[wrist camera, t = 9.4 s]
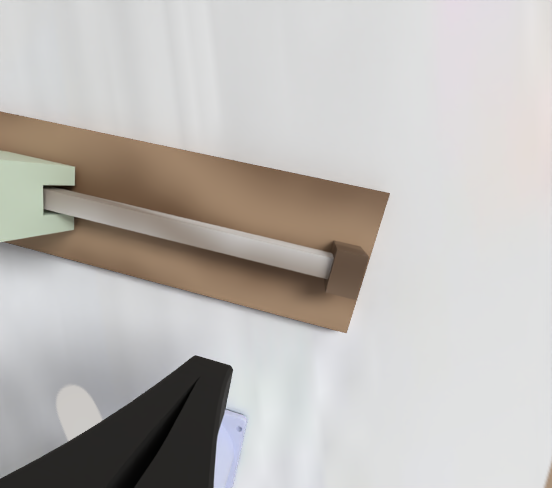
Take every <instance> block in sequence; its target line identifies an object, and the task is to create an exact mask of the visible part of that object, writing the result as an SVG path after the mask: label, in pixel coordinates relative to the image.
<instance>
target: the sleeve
mask: <svg viewBox="0 0 552 488" xmlns="http://www.w3.org/2000/svg"><path fill="white" fill-rule="evenodd" d="M43 185H73V186H75V167H74V166H69V165H65V164H61V163H56V162H52V161H47V160H43V159H39V158H34V157H30V156H25V155H21V154H17V153H12V152H8V151H0V242H4V241H10V240H16V239H22V238H28V237H34V236H40V235H46V234H52V233H58V232H64V231H70V230H74V216H70V215H66V214H62V213H58V212H54V211H50V210H46V209H43Z"/></svg>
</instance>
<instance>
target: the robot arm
mask: <svg viewBox="0 0 552 488" xmlns="http://www.w3.org/2000/svg"><path fill="white" fill-rule="evenodd" d="M232 372H233V369H232V367H231V366H230V365H227V364H223V363H220V362H217V361H213V360H210V359H206V358H203V357H199V356H196V355H195V356H193V357H192V358H190V359H189V360H188V361H187V362H185V363H184V364H183V365H181V366H180V367H179V368H177V369H176V370H175V371H174V372H172V373H171V374H170V375H168V376H167V377H166V378H164V379H163V380H161V381H160V382H159V383H157V384H156V385H155V386H153V387H152V388H150V389H149V390H148V391H146V392H145V393H143V394H142V395H140V396H139V397H138V398H136V399H135V400H133V401H132V402H130V403H129V404H128V405H126V406H124V407H123V408H121V409H120V410H118V411H117V412H115V413H114V414H112V415H111V416H109V417H108V418H106V419H104V420H103V421H101V422H100V423H98V424H97V425H95V426H93V427H92V428H90V429H89V430H87V431H85V432H84V433H82V434H80V435H79V436H77V437H76V438H74V439H72V440H70V441H69V442H67V443H65V444H63V445H62V446H60V447H58V448H56V449H55V450H53V451H51V452H49V453H48V454H46V455H44V456H42V457H40V458H39V459H37V460H35V461H33V462H31V463H29V464H27V465H26V466H24V467H22V468H20V469H18V470H16V471H14V472H12V473H10V474H9V475H7V476H5V477H3V478H1V479H0V488H232V487H233V483H234V478H235V474H236V469H237V465H238V461H239V456H240V452H241V447H242V443H243V438H244V434H245V430H246V425H247V418H246V417H245V416H244V415H241V414H238V413H235V412H232V411H228V410H225V408H226V403H227V398H228V393H229V388H230V383H231V378H232ZM239 426H240V427H239Z"/></svg>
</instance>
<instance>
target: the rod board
mask: <svg viewBox="0 0 552 488" xmlns="http://www.w3.org/2000/svg"><path fill="white" fill-rule="evenodd" d="M0 151H8V152H12V153H17V154H21V155H25V156H30V157H34V158H39V159H43V160H47V161H52V162H56V163H61V164H65V165H69V166H74V167H75V186H73V185H43V209H46V210H50V211H54V212H58V213H62V214H66V215H70V216H74V230H70V231H64V232H58V233H52V234H46V235H40V236H34V237H28V238H22V239H16V240H10V241H4V242H6V243H10V244H14V245H17V246H21V247H25V248H29V249H32V250H36V251H40V252H44V253H47V254H51V255H55V256H59V257H62V258H66V259H70V260H74V261H77V262H81V263H85V264H89V265H92V266H96V267H100V268H104V269H107V270H111V271H115V272H119V273H122V274H126V275H130V276H134V277H137V278H141V279H145V280H149V281H152V282H156V283H160V284H164V285H167V286H171V287H175V288H179V289H182V290H186V291H190V292H194V293H197V294H201V295H205V296H209V297H212V298H216V299H220V300H224V301H227V302H231V303H235V304H239V305H242V306H246V307H250V308H254V309H257V310H261V311H265V312H269V313H272V314H276V315H280V316H284V317H287V318H291V319H295V320H299V321H302V322H306V323H310V324H314V325H317V326H321V327H325V328H329V329H332V330H336V331H340V332H344V333H347V330H348V327H349V323H350V320H351V317H352V314H353V310H354V307H355V304H356V301H357V298H358V294H359V291H360V288H361V285H362V282H363V278H364V275H365V272H366V269H367V265H368V262H369V259H370V256H371V253H372V249H373V246H374V243H375V240H376V236H377V233H378V230H379V227H380V224H381V220H382V217H383V214H384V211H385V208H386V204H387V201H388V198H389V195H390V193H386V192H381V191H377V190H372V189H367V188H362V187H358V186H353V185H348V184H343V183H338V182H334V181H329V180H324V179H319V178H315V177H310V176H305V175H300V174H296V173H291V172H286V171H281V170H276V169H272V168H267V167H262V166H257V165H253V164H248V163H243V162H238V161H234V160H229V159H224V158H219V157H214V156H210V155H205V154H200V153H195V152H191V151H186V150H181V149H176V148H172V147H167V146H162V145H157V144H153V143H148V142H143V141H138V140H133V139H129V138H124V137H119V136H114V135H110V134H105V133H100V132H95V131H91V130H86V129H81V128H76V127H71V126H67V125H62V124H57V123H52V122H48V121H43V120H38V119H33V118H29V117H24V116H19V115H14V114H9V113H5V112H0Z"/></svg>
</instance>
